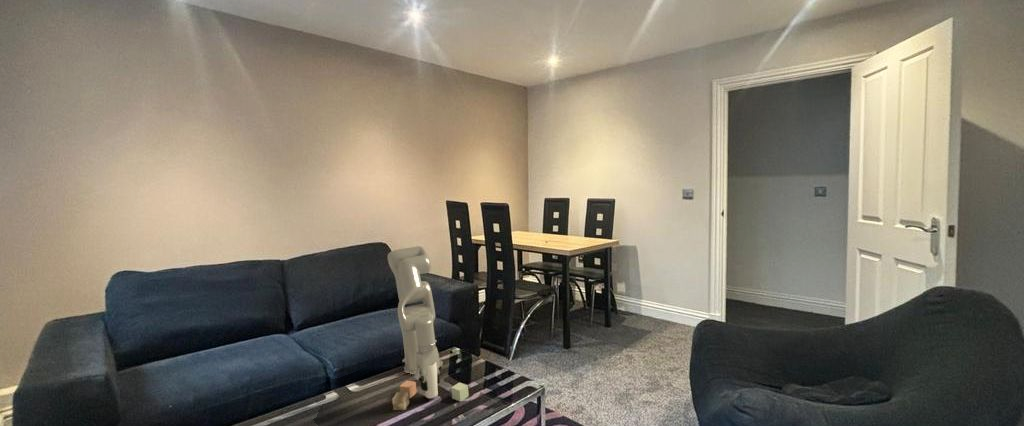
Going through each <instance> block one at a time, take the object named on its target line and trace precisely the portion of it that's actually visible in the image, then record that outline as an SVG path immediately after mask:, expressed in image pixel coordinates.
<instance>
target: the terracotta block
mask: <svg viewBox="0 0 1024 426" xmlns="http://www.w3.org/2000/svg"><path fill="white" fill-rule="evenodd" d="M417 390H418V389H417V383H416V381H411V380H405V381H404V382H402V383H401V384H400V385H399V392H408V396H409V399H412V397H413V396H415V395H416V394H417V392H418V391H417Z"/></svg>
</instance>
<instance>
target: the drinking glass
mask: <svg viewBox="0 0 1024 426" xmlns="http://www.w3.org/2000/svg"><path fill="white" fill-rule="evenodd" d="M422 377H424V376H422ZM422 379H423V378H422ZM425 382H427V389H428V390H427V391H424V395H425V397H426V398H427V399H435V398H436V397H437V396H438V395H439V392H438V387H439V386H438V383H437V364H436V362H435V364H434V365H431V366H428V375H426V381H425Z"/></svg>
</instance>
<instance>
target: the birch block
mask: <svg viewBox="0 0 1024 426" xmlns="http://www.w3.org/2000/svg"><path fill="white" fill-rule="evenodd" d="M391 401H392V406H393V407H392V409H393V411H406V410H407V407H408V406H409V404H410V398H409V396H408V392H400V391H399V392H398V391H397V392H396V393H395V394H394V396H393V397H392V398H391Z"/></svg>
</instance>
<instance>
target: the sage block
mask: <svg viewBox="0 0 1024 426" xmlns="http://www.w3.org/2000/svg"><path fill="white" fill-rule="evenodd" d="M450 391H451V398H452V400H456V401H457V402H462V401H464V400H465V399H467V398H468V397H469V396H470V395H469V385H467V384H466V383H462V382H458V383H456V384H454V385H453V386H452V387H450Z"/></svg>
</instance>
